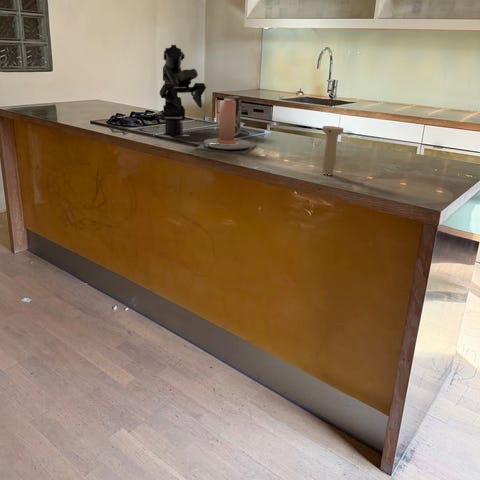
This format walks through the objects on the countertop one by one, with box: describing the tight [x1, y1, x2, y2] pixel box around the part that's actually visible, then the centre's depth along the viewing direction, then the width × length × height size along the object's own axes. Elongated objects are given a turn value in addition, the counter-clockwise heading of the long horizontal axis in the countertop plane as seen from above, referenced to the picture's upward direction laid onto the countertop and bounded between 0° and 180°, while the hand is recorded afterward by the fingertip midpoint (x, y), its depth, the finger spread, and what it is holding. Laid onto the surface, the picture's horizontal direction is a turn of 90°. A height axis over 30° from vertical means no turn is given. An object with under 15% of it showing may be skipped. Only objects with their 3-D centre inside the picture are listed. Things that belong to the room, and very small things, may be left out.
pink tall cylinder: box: [216, 98, 237, 144], centre depth 184 cm, size 8×8×16 cm
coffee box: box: [223, 95, 243, 137], centre depth 212 cm, size 9×6×16 cm
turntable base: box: [194, 142, 257, 156], centre depth 188 cm, size 19×19×1 cm
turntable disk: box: [203, 137, 250, 150], centre depth 187 cm, size 18×18×1 cm
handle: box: [321, 125, 344, 175], centre depth 152 cm, size 5×6×15 cm
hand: (191, 107), depth 188 cm, fingers open, 9 cm apart
